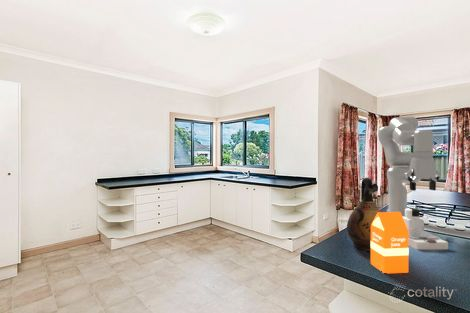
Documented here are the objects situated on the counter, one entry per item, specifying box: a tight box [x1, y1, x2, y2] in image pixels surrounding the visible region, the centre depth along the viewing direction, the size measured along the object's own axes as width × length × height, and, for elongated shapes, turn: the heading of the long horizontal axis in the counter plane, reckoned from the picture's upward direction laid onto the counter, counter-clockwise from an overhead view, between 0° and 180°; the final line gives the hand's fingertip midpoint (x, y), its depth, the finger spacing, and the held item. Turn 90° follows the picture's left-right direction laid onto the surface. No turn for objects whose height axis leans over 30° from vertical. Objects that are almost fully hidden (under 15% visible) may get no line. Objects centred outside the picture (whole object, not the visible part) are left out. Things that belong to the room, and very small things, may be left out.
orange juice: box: [370, 211, 410, 274], centre depth 88 cm, size 8×9×20 cm
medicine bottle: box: [402, 207, 425, 231], centre depth 126 cm, size 7×7×12 cm
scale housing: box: [408, 237, 449, 251], centre depth 112 cm, size 17×13×4 cm
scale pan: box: [408, 229, 439, 239], centre depth 113 cm, size 11×11×1 cm
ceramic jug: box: [346, 177, 381, 252], centre depth 108 cm, size 17×15×30 cm
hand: (422, 190), depth 122 cm, fingers open, 9 cm apart
